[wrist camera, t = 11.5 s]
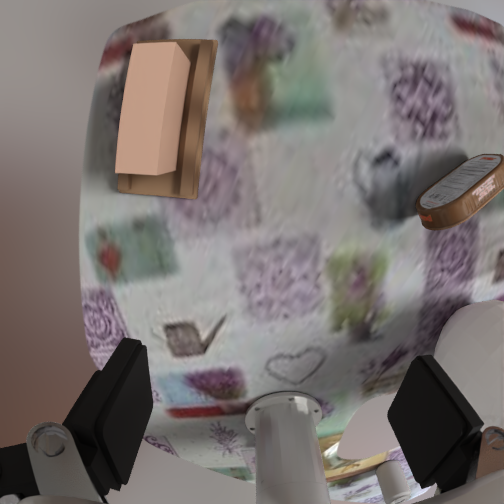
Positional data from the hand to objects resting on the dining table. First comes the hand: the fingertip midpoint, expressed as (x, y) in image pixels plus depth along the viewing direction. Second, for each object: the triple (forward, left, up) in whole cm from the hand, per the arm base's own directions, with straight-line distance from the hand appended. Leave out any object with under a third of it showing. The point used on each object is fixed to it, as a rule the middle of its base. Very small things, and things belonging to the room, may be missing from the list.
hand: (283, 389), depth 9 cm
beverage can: (-54, -39, -26) cm, 72 cm away
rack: (+11, +12, -25) cm, 30 cm away
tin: (+9, -23, -26) cm, 36 cm away
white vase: (-13, -35, -26) cm, 46 cm away
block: (+11, +11, -24) cm, 29 cm away
